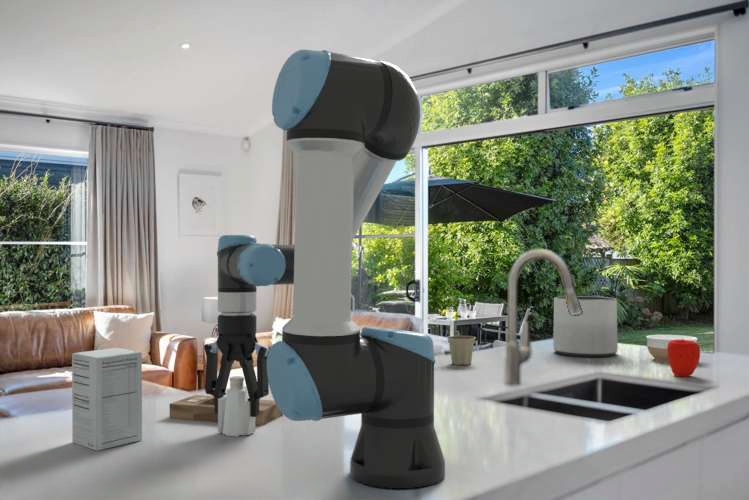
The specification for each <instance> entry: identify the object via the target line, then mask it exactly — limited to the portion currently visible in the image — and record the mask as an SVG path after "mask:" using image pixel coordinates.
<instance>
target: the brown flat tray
mask: <svg viewBox="0 0 749 500" xmlns="http://www.w3.org/2000/svg"><path fill="white" fill-rule="evenodd" d="M248 399H249V398H247V400H248ZM281 415H282V416H284V415H283V414H282V413H281V411H280V410H279V408H278V407H277V405H276V403H275V401H274V400H270V399H269V400H268V399H260V400H259V415H258V416H256V417H255V426H261V425H262V426H264V425H266V424H268V423H270V422H272V421H274V420H276V419H278V418H280V417H282V416H281ZM279 416H280V417H279ZM277 417H278V418H277ZM275 418H276V419H275ZM169 419H178V420H179V419H180V420H191V421H192V420H194V421H204V422H215V423H216V422H217V423H218V414H215V399H214V396H212V395H201V394H199V395H198V394H193V395H191V396H189V397H185V398H182V399H179V400H177V401H174V402H171V403H169ZM273 419H274V420H273ZM271 420H272V421H271ZM269 421H270V422H269ZM267 422H268V423H267ZM265 423H266V424H265ZM263 424H264V425H263Z"/></svg>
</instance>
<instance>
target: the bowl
mask: <svg viewBox="0 0 749 500" xmlns="http://www.w3.org/2000/svg"><path fill="white" fill-rule="evenodd" d="M645 338H646V340H647V346H646V347H647V351H648V352H649V354H650V355H651V357H652V358H653V359H654V361H657V362H661V363H669V360H668V353H667V346H668V343H669V341H671V340H682V339H683V340H688V341H694V342H696V343H698V342H697V341H698V338H697V337H696V336H691V335H682V334H681V335H680V334H661V333H660V334H648V335H646V336H645Z"/></svg>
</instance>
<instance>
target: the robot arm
mask: <svg viewBox="0 0 749 500" xmlns="http://www.w3.org/2000/svg"><path fill="white" fill-rule="evenodd" d="M271 103H272V104H271V112H272V113H271V114H272V117H273V122H274V124H275V126H277V128H279V129H281V130H283V131H286V146H288V147H289V149H290V150H291V151H292V152H293V153H294V154H295V156H296V161H295V165H296V166H295V171H296V172H295V204H294V205H295V207H294V208H295V209H294V210H295V213H294V244H268V243H257V239H256V238H257V237H255V236H254V235H249V234H223V235H220V237H219V238H218V242H217V243H218V244H217V252H216V256H217V312H218V313H220V314H218V316H217V333H218V337H217V339H216V341H215V342H211V343H205V344H204V346H203V349H204V354H205V384H204V385H205V389H204V391H205V394H206V395H209V396H214V399H215V414H218V422H217V433H223V424H224V415H225V406H226V397H227V387H228V384H229V380H230V374H231V372H232V367H233V364H234V363H235V362H239V366H240V367H241V370H242V374H243V377H244V383H245V386H246V391H247V396H248V398H247V399H248V400H246V401H245V435H244V436H248V435H251V434H253V433H255V432H256V425H255V417H256V416H258V415H259V400H261V398H264V397H267V396H268V395H269V394H270V393H271V395H272V399H273V401H275V403H276V405H277V407H278V408H279V410H280V411H281V413H282V414H283V415H282V416H284V417H285V418H287V419H288V420H290V421H293V422H301V421H302V422H303V421H313V422H319V421H320V420H324V419H330V418H339V417H345V416H353V415H360V417H361V419H360V420H361V422H360V428H359V432H358V435H357V438H356V441H355V445H354V447H353V451H352V453H351V457H350V461H349V468H350V469H349V473H350V474H351V475H350V474H349V475H350V477H351V476H352V477H353V478H354V479H353V478H352V477H351V478H352V479H353V480H355V481H356V480H357V481H356V482H358V481H359V482H358V483H360V482H362V483H361V484H363V483H364V484H363V485H366V484H368V485H367V486H370V485H372V486H371V487H374V486H379V487H378V488H381V487H387V488H386V489H392V488H407V489H415V488H414V487H418V488H422V487H421V486H424V487H427V486H433V485H435V484H437V483H438V482H441V481H442V480H443V479H444V478H445V476H446V461H445V460H446V459H445V456H444V454H443V451H442V448H441V444H440V440H439V437H438V435H437V432H436V429H435V364H436V359H435V349H434V341H433V339H432V337H430V335H428V334H426V333H423V332H418V331H410V330H403V329H395V328H388V327H387V328H386V327H377V326H363V327H362V329H361V328H360V327H359V325H357V324H356V323H355V322H354V320H353V319H352V316H351V313H352V312H351V311H352V309H351V308H352V307H351V306H352V305H351V304H352V301H351V300H352V266H353V265H352V262H353V261H352V260H353V241H354V239H355V238H356V235H357V234H358V233H359V230H360V228H361V226H362V225H363V223H364V221H365V219H366V217H367V216H368V214H369V212H370V210H371V209H372V207H373V204H374V203H375V201H376V200H377V198H378V196H379V194H380V193H381V190H382V189H383V187H384V185H385V184H386V182H387V180H388V178H389V176H390V174H391V172H392V171H393V169H394V167H395V165H396V163H397V162H400V161H403V160H405V158H406V157H407V156H408V154H409V153H410V150H412V147H413V145H414V143H415V141H416V139H417V136H418V132H419V127H420V123H421V104H420V100H419V95H418V92H417V89H416V88H415V86H414V83H413V82H412V80H411V78H410V77H409V76H408V74H406V73H405V72H404V71H403V70H401V69H400V68H399V67H398V66H396V65H394V64H392V63H390V62H387V61H383V60H379V59H378V60H377V59H376V60H374V59H368V58H364V57H358V56H353V55H347V54H342V53H337V52H331V51H328V50H327V49H326V50H325V49H324V50H313V49H300V50H299V49H298V50H297V51H295V52H293V53H292V54H290V56H289V57H288V58H287V59H286V60H285V61H284V64H283V65H282V67H281V69H280V71H279V73H278V75H277V79H276V82H275V85H274V89H273V95H272V101H271ZM274 285H275V286H278V285H284V286H285V285H293V294H292V295H293V296H292V297H293V299H292V302H293V303H292V316H291V319H289V320H288V322H286V323H285V324H284V325H283V326H282V330H281V331H282V332H281V335H282V336H281V337H282V338H281V340H278V341H276V342H275V343H273V344H272V345H271V346H270V345H264V344H261V343H259V340H258V339H257V335H256V334H257V315H256V314H255V313H254V312H256V311H257V289H258V287H268V286H274ZM219 351H220V353H221V358H220V360H219V358H218V357H219V354H218V352H219ZM254 352H255V355H257V356H256V371H255V366H254V357H253V353H254ZM218 361H219V362H218ZM218 364H220V365H218ZM218 366H220V367H219V368H218ZM218 369H219V370H218ZM269 389H270V391H269Z"/></svg>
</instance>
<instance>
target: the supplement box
mask: <svg viewBox="0 0 749 500" xmlns="http://www.w3.org/2000/svg"><path fill="white" fill-rule="evenodd" d="M142 353H143V352H142V351H138V350H132V349H126V348H121V347H120V348H119V347H112V348H104V349H96V350H89V351H88V350H87V351H81V352H74V353H73V352H72V353H71V378H72V379H71V385H72V386H71V389H72V392H71V393H72V394H71V395H72V397H71V398H72V400H71V401H72V403H71V405H72V407H71V408H72V409H71V411H72V412H71V413H72V419H71V420H72V421H71V422H72V427H71V428H72V443H73V444H76V445H79V446H82V447H85V448H88V449H91V450H93V451H96V452H98V451H102V450H106V449H110V448H116V447H118V446H122V445H128V444H131V443H136V442H139V441H142V440H143V392H142V391H143V390H142V389H143V384H142V383H143V380H142V379H143V378H142V377H143V376H142V375H143V373H142V372H143V371H142V370H143V368H142V366H143V364H142V363H143V362H142V357H143V356H142Z"/></svg>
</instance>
